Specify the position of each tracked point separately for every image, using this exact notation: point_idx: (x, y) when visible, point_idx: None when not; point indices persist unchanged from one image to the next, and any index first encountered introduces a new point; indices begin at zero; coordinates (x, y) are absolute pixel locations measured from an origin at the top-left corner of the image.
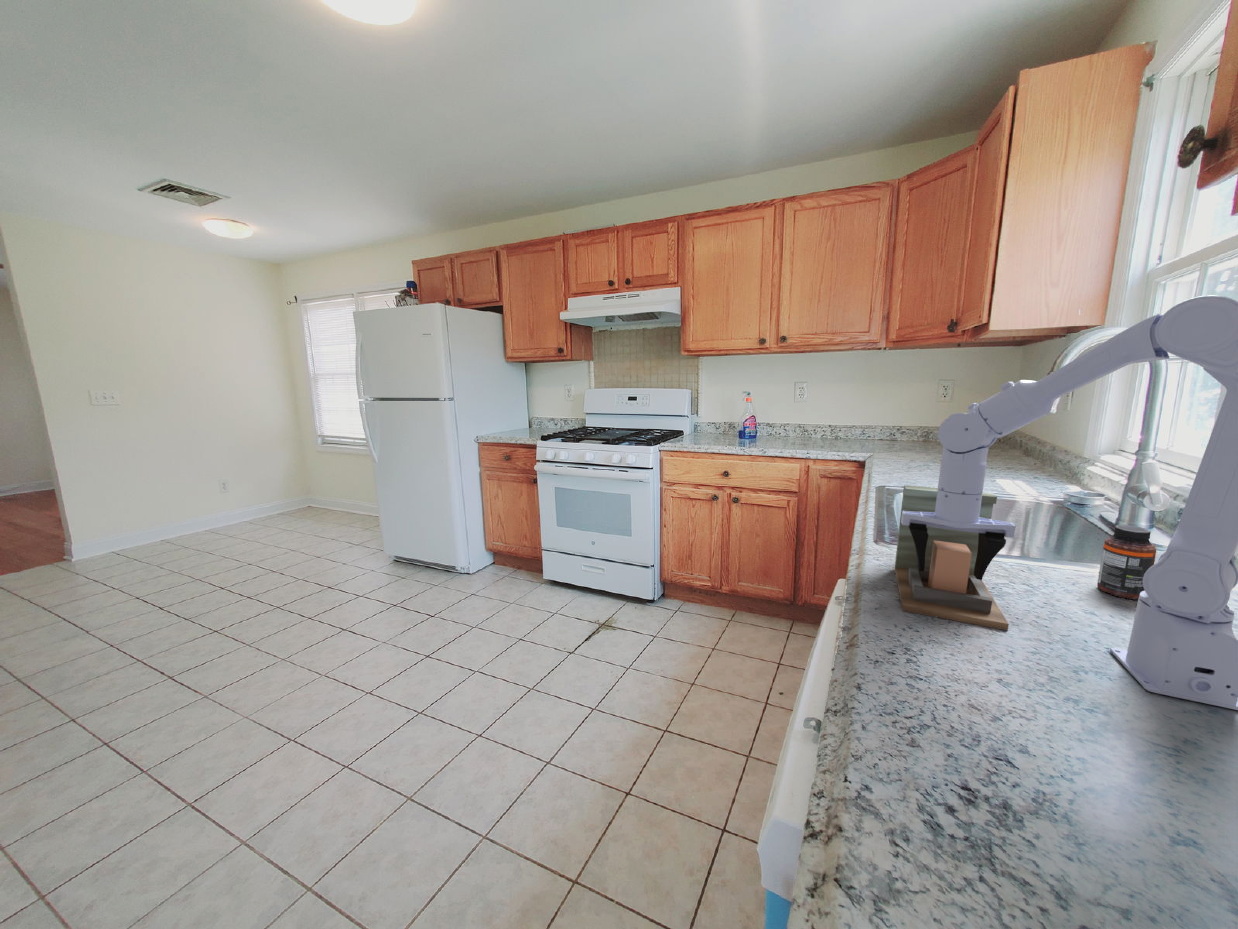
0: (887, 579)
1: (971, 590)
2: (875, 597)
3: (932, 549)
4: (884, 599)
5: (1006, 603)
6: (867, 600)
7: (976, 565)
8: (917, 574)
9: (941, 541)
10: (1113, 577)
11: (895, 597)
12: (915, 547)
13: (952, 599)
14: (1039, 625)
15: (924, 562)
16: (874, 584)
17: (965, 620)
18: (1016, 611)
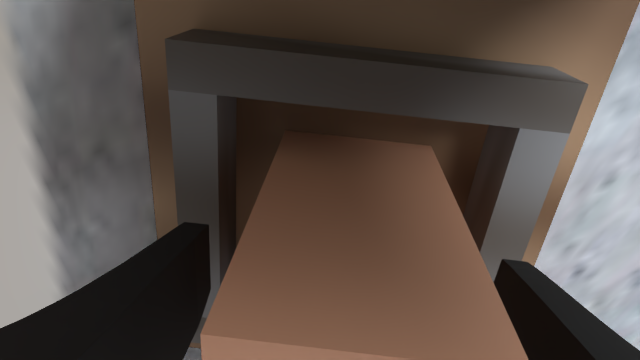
0: (106, 17)
1: (483, 172)
2: (82, 251)
3: (231, 263)
4: (115, 258)
5: (635, 139)
6: (60, 283)
7: (524, 329)
8: (208, 180)
9: (281, 350)
10: None
11: (152, 228)
12: (84, 288)
13: None
14: (628, 303)
15: (186, 346)
16: (56, 117)
17: None
18: (622, 212)
